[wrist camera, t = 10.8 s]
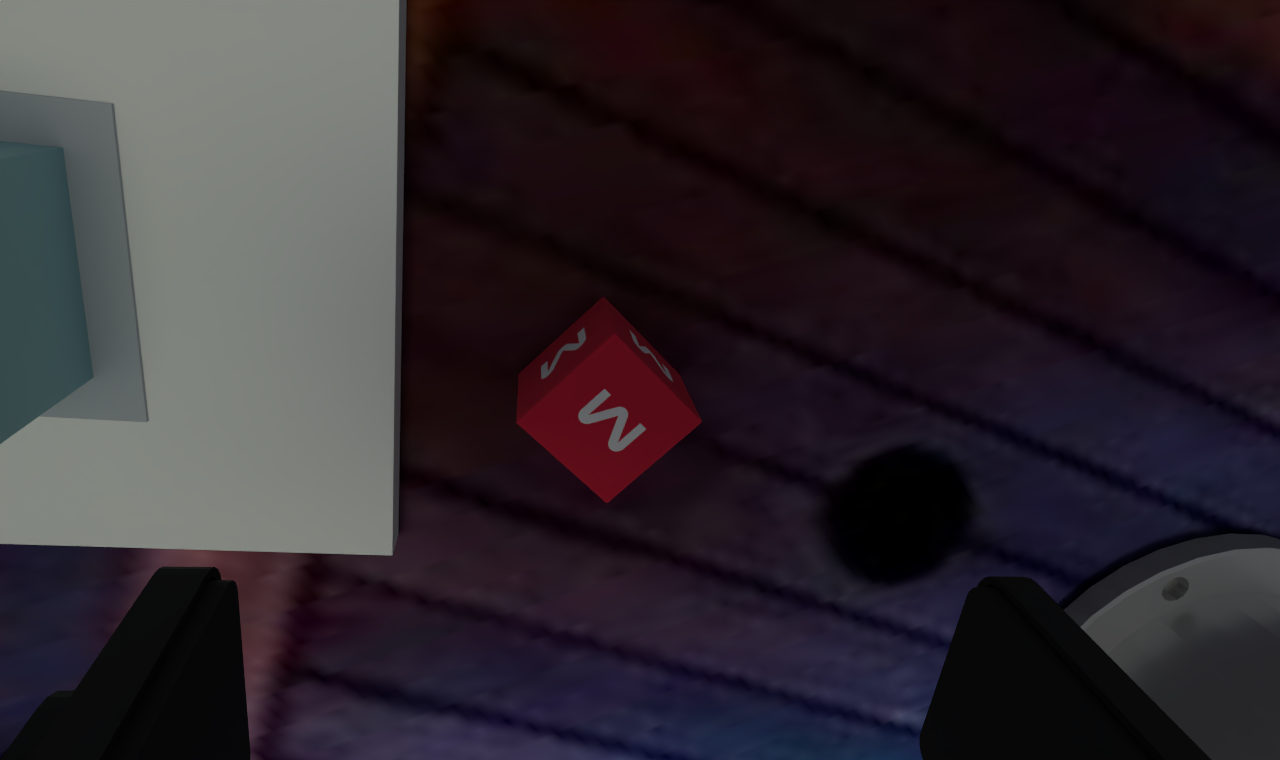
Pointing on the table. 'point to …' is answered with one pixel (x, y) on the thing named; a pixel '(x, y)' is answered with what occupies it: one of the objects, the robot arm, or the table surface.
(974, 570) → the table surface
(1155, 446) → the table surface
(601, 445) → the red letter cube
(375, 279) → the pad
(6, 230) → the teal block
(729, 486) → the table surface
